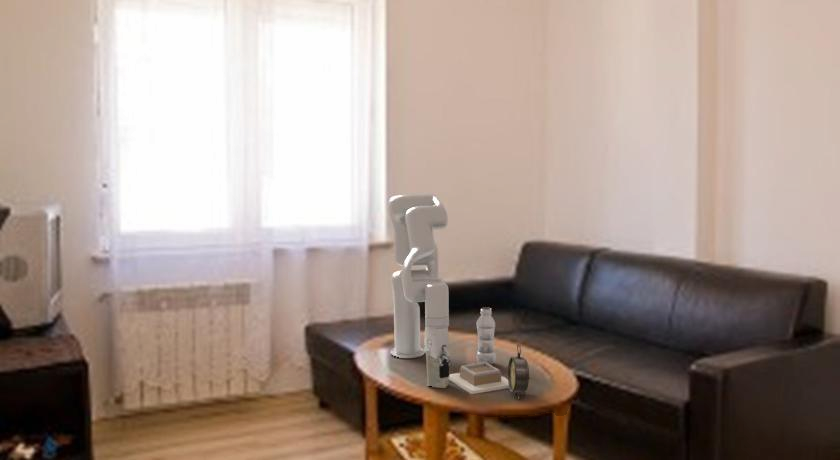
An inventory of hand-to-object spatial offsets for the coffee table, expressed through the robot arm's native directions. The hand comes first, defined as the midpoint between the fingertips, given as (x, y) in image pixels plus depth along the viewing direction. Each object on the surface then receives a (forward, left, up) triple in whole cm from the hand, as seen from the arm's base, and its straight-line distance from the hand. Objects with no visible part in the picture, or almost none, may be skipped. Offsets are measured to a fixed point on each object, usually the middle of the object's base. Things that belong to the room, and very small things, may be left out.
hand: (437, 373), depth 242 cm
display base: (+3, +14, -4) cm, 15 cm away
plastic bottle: (-13, +25, -4) cm, 29 cm away
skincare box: (0, 0, -5) cm, 5 cm away
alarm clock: (+19, +19, -5) cm, 27 cm away
